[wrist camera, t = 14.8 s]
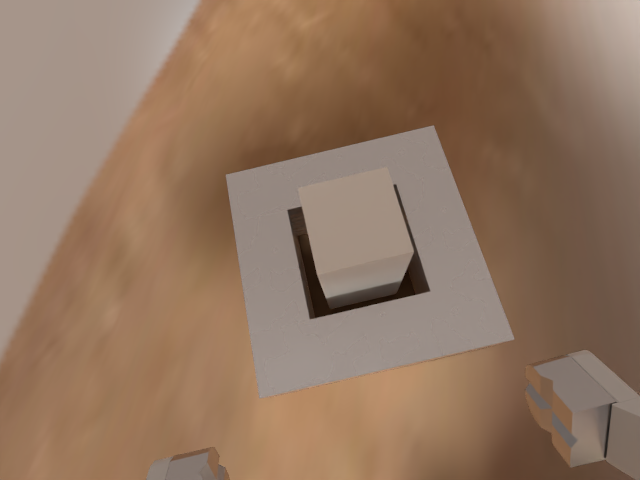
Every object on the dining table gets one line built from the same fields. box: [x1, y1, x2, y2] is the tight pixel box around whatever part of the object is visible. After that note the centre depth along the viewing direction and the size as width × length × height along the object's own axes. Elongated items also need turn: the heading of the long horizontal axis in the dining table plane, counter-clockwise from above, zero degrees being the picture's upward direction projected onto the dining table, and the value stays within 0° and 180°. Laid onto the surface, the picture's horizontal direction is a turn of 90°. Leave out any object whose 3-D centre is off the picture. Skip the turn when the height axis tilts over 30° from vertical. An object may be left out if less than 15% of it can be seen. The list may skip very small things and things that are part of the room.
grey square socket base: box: [226, 125, 514, 398], centre depth 23 cm, size 12×12×4 cm
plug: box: [298, 167, 414, 309], centre depth 21 cm, size 4×4×8 cm
